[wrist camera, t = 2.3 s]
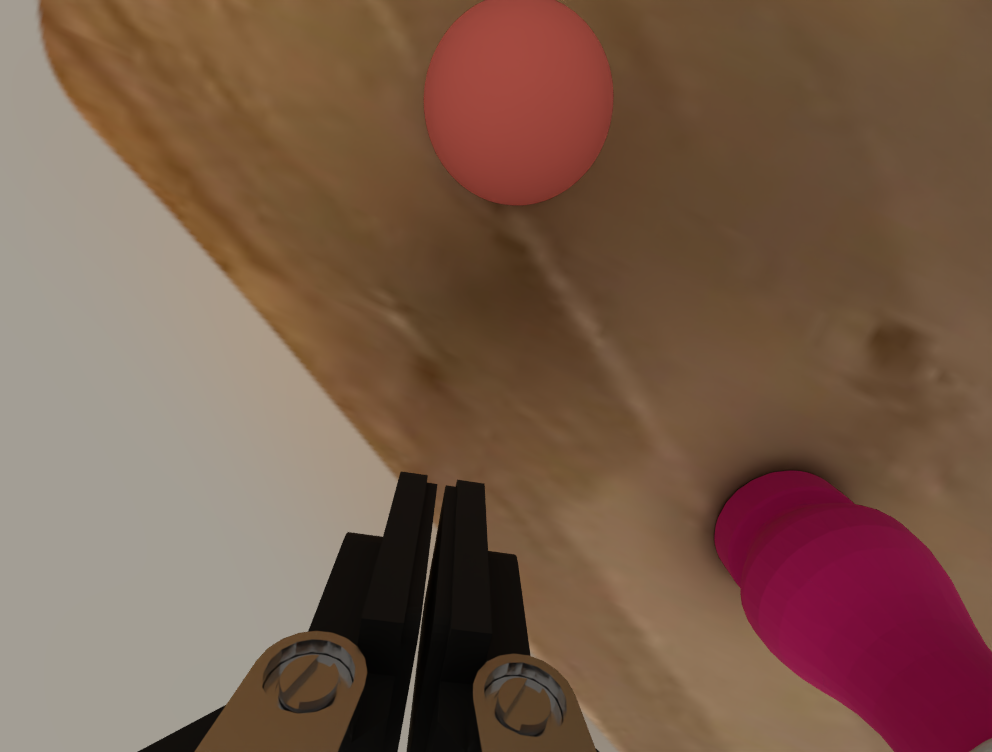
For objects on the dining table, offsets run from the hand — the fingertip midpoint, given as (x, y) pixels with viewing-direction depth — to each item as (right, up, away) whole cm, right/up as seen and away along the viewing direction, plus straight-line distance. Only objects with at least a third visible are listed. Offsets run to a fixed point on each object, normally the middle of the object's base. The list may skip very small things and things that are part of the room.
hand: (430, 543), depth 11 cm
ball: (+2, +12, +7) cm, 14 cm away
